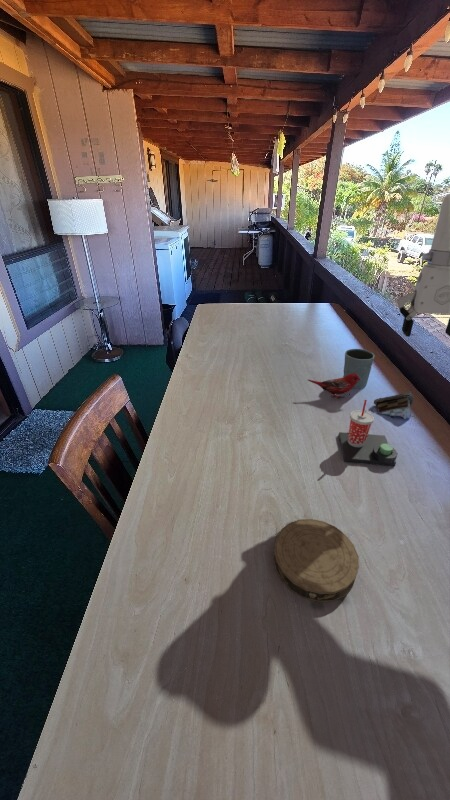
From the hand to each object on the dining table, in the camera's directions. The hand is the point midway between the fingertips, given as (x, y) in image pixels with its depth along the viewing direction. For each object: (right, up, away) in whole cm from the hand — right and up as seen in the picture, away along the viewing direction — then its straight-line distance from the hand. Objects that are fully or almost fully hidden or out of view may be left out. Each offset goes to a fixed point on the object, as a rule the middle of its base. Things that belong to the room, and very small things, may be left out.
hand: (427, 334), depth 84 cm
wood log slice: (-31, -48, -14) cm, 59 cm away
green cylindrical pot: (+1, -9, +49) cm, 50 cm away
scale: (-9, -30, +15) cm, 35 cm away
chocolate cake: (+7, -20, +31) cm, 38 cm away
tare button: (-6, -30, +10) cm, 32 cm away
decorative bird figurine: (-11, -15, +40) cm, 44 cm away
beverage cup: (-11, -28, +16) cm, 34 cm away
